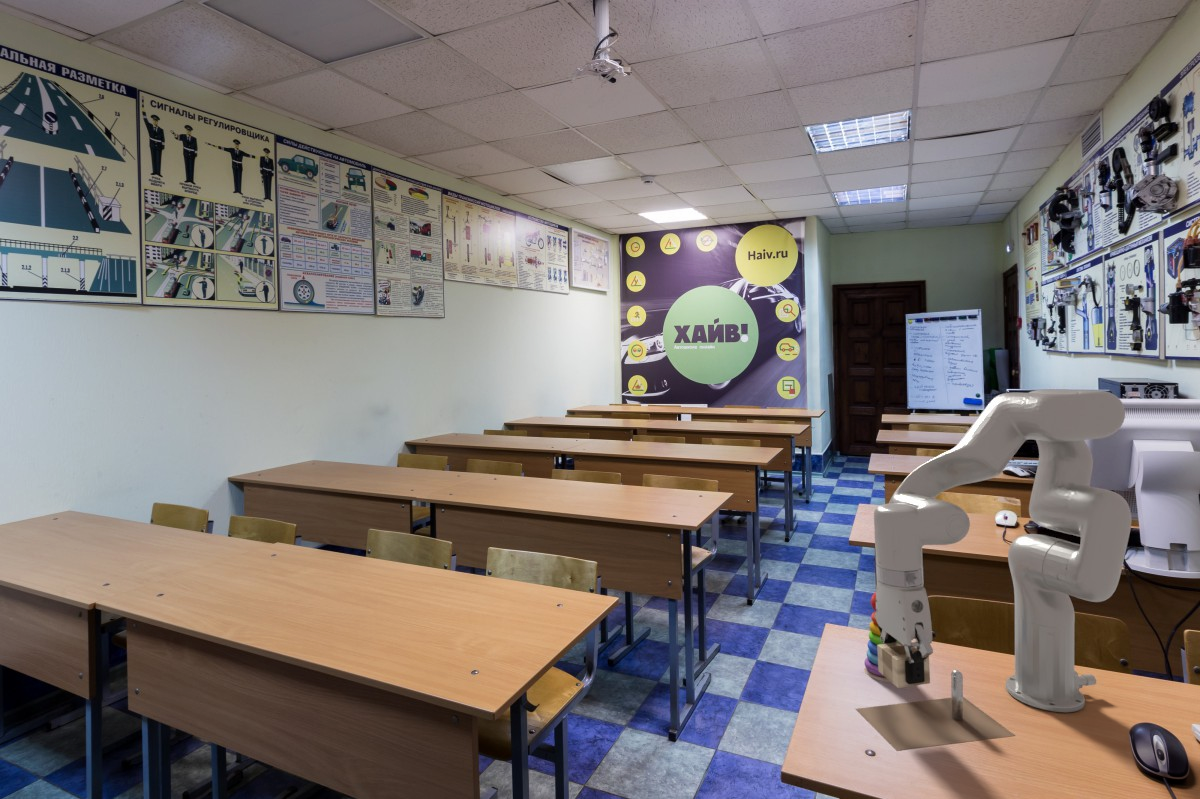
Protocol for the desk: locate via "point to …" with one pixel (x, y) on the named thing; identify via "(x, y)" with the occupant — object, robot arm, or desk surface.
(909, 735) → the brown rectangular board
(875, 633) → the stacking toy
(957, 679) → the grey glassy cylinder
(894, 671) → the wooden square holder
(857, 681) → the desk surface
